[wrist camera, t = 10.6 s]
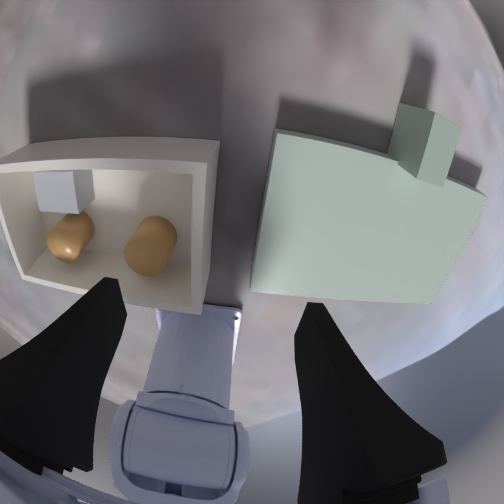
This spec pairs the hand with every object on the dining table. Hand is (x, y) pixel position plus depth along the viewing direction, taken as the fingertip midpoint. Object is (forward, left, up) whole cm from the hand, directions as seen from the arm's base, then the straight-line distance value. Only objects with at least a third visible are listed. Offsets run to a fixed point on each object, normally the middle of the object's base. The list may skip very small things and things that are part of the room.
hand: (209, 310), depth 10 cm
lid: (+1, -11, -10) cm, 15 cm away
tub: (-1, +9, -10) cm, 13 cm away
